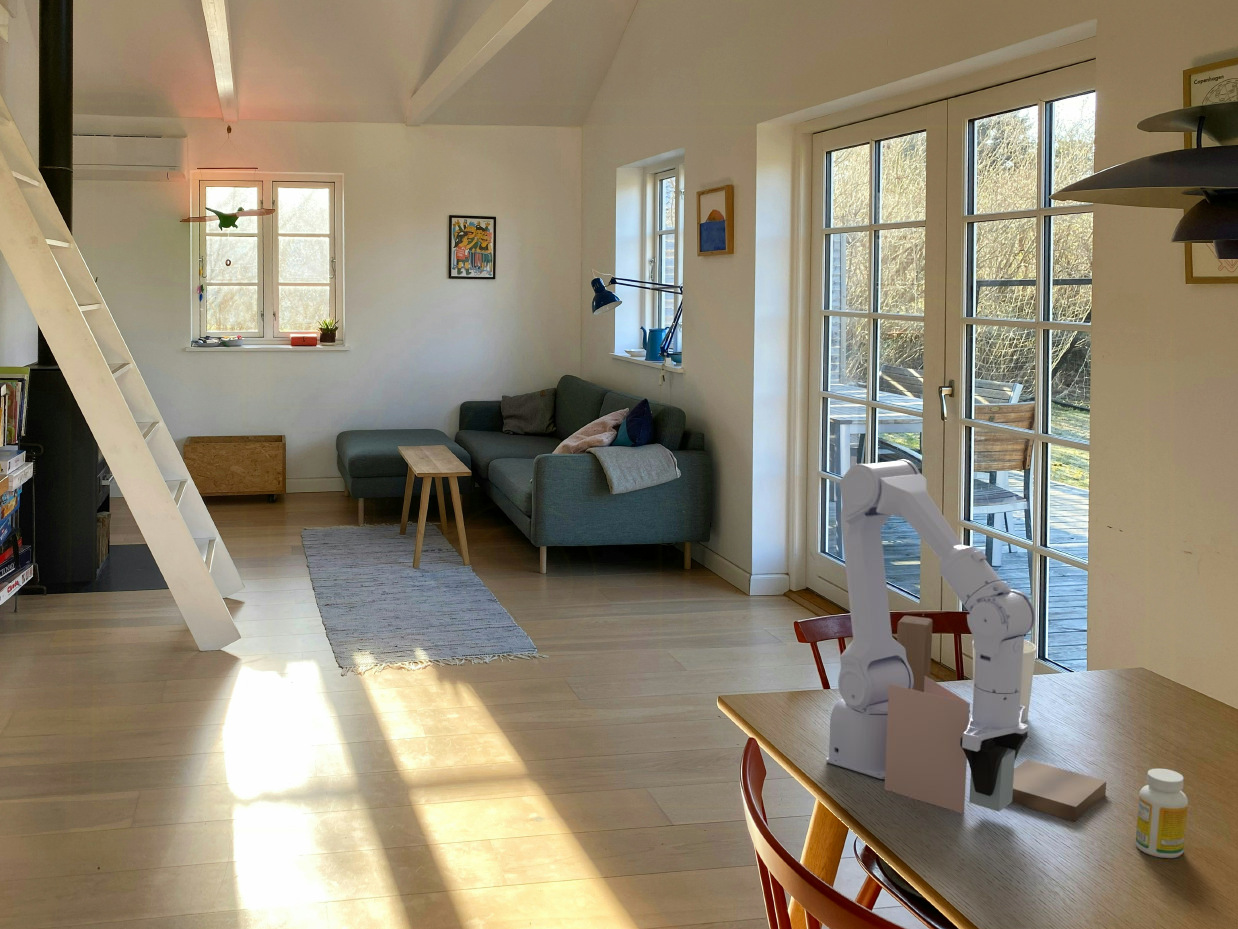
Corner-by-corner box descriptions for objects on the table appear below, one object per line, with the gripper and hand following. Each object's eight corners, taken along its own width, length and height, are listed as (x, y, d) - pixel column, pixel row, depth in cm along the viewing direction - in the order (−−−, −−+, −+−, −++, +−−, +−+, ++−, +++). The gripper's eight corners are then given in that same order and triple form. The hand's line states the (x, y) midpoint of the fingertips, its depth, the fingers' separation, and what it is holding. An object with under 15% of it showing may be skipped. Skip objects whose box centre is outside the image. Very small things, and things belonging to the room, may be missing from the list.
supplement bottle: (1128, 849, 142) (1134, 774, 141) (1144, 835, 146) (1149, 762, 145) (1175, 864, 138) (1181, 787, 137) (1189, 849, 142) (1195, 774, 141)
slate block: (969, 802, 150) (972, 750, 149) (982, 792, 153) (985, 742, 152) (998, 811, 147) (1002, 759, 146) (1012, 801, 150) (1015, 750, 149)
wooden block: (957, 735, 179) (963, 622, 176) (951, 745, 175) (957, 629, 172) (899, 725, 183) (903, 614, 180) (892, 734, 179) (897, 621, 176)
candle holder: (1024, 731, 181) (1029, 657, 179) (961, 719, 186) (965, 646, 184) (1038, 712, 189) (1042, 641, 187) (977, 701, 194) (981, 632, 192)
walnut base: (993, 797, 157) (993, 783, 156) (1026, 772, 165) (1027, 759, 165) (1074, 821, 149) (1075, 807, 149) (1105, 795, 158) (1106, 781, 157)
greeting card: (969, 813, 152) (975, 702, 150) (918, 818, 150) (924, 707, 148) (925, 778, 163) (930, 675, 161) (877, 783, 161) (881, 679, 159)
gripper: (1003, 708, 140) (997, 815, 142) (1050, 680, 150) (1044, 779, 152) (948, 695, 144) (943, 798, 146) (998, 668, 155) (992, 764, 157)
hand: (991, 787), depth 150 cm, fingers closed on slate block, 4 cm apart
